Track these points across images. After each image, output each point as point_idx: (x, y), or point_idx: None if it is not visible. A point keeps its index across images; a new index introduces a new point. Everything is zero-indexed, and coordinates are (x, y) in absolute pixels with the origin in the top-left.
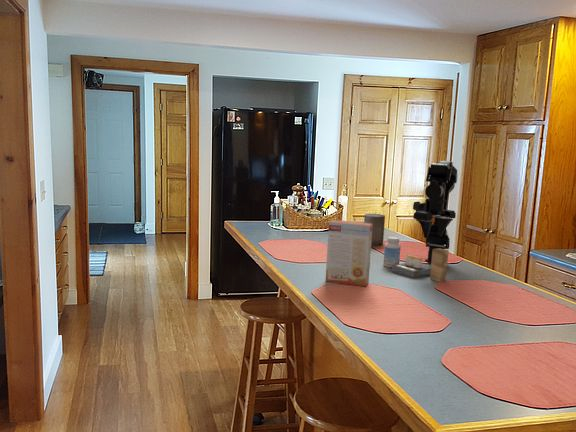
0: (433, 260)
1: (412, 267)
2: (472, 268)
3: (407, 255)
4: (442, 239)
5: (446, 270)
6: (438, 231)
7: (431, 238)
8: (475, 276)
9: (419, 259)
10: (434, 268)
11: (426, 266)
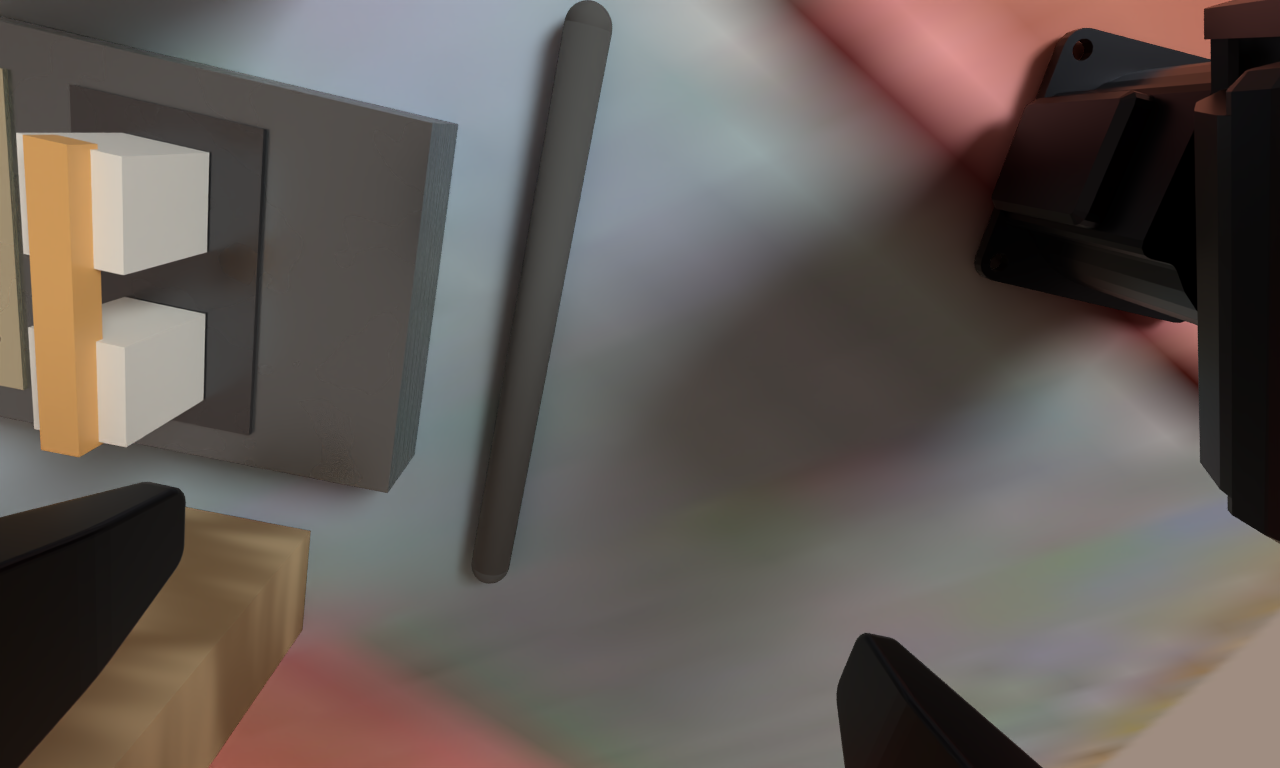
0: None
1: None
2: (1070, 631)
3: (30, 158)
4: (1241, 481)
5: (244, 708)
6: (916, 721)
7: (1233, 200)
8: (718, 753)
9: (57, 419)
10: None
11: (353, 397)
